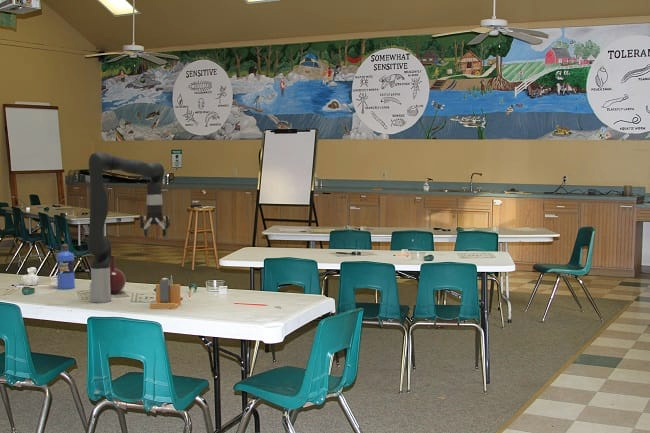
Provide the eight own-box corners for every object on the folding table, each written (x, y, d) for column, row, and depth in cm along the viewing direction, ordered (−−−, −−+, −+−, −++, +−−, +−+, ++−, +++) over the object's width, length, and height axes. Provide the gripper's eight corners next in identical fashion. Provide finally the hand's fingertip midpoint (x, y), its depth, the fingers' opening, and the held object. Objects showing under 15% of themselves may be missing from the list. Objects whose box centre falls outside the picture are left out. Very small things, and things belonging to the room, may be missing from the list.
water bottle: (60, 286, 456) (59, 242, 454) (77, 286, 456) (75, 242, 454) (55, 289, 447) (53, 244, 445) (72, 289, 447) (70, 244, 445)
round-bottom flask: (129, 291, 440) (128, 254, 439) (120, 295, 427) (119, 258, 426) (106, 290, 442) (105, 254, 440) (96, 295, 429) (95, 257, 428)
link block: (160, 305, 394) (159, 279, 393) (162, 303, 398) (161, 277, 397) (168, 305, 394) (167, 279, 393) (170, 303, 398) (169, 277, 397)
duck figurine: (39, 289, 461) (47, 272, 467) (31, 283, 456) (39, 265, 461) (23, 288, 466) (31, 271, 472) (15, 281, 460) (23, 264, 466)
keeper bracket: (150, 308, 391) (149, 288, 390) (157, 304, 402) (156, 284, 401) (174, 309, 390) (174, 288, 389) (180, 304, 401) (180, 284, 400)
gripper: (171, 203, 398) (171, 236, 399) (142, 203, 399) (143, 236, 400) (166, 204, 390) (167, 237, 392) (137, 204, 392) (138, 237, 393)
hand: (155, 236), depth 396 cm, fingers open, 8 cm apart
